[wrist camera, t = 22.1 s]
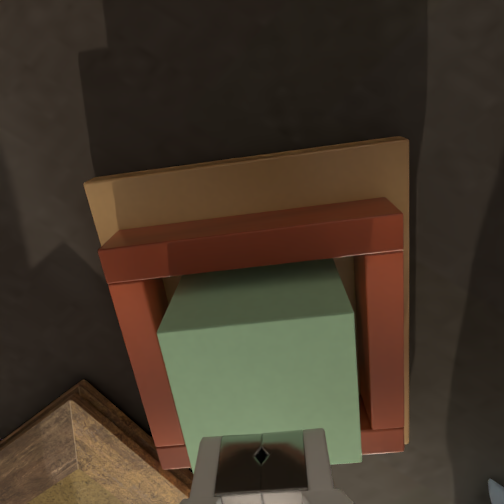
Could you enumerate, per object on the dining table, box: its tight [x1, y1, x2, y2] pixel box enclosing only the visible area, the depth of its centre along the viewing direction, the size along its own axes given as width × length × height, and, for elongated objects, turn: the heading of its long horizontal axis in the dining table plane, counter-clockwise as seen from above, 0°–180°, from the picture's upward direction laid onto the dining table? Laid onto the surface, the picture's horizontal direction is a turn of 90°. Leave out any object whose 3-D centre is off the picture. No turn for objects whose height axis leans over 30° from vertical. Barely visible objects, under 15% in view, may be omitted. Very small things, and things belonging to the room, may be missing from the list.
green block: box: [157, 258, 362, 474], centre depth 14 cm, size 6×6×4 cm
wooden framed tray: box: [84, 136, 409, 470], centre depth 16 cm, size 13×11×3 cm
